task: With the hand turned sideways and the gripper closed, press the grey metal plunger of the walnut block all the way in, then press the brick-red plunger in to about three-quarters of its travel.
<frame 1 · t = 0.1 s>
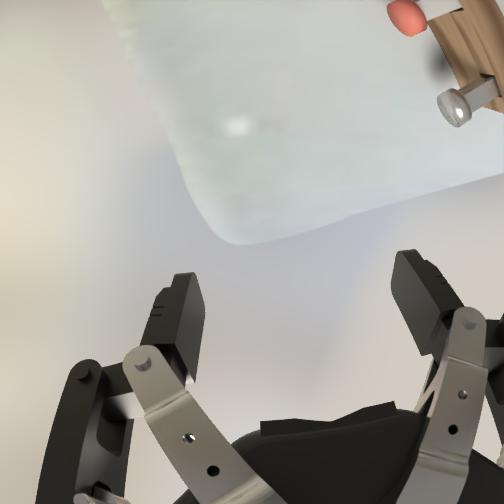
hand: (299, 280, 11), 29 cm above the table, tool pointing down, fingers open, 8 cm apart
red plunger: (434, 5, 18), point 8 cm above the table, slide at 0.0 cm
grey plunger: (478, 92, 24), point 8 cm above the table, slide at 0.0 cm
walnut housing: (439, 43, 27), on the table
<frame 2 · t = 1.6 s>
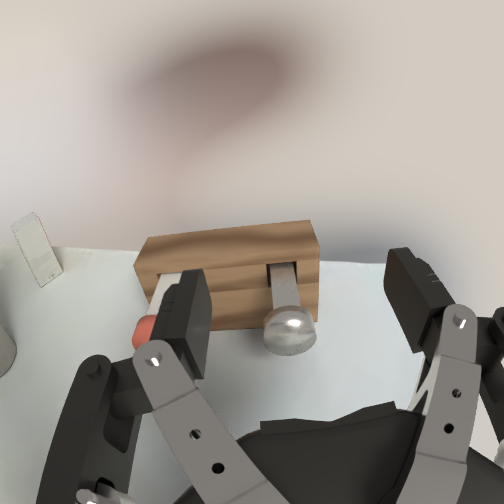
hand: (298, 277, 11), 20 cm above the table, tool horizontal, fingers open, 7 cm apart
red plunger: (167, 302, 30), point 8 cm above the table, slide at 0.0 cm
grey plunger: (284, 293, 29), point 8 cm above the table, slide at 0.0 cm
small box: (48, 274, 53), on the table
walnut housing: (237, 329, 36), on the table
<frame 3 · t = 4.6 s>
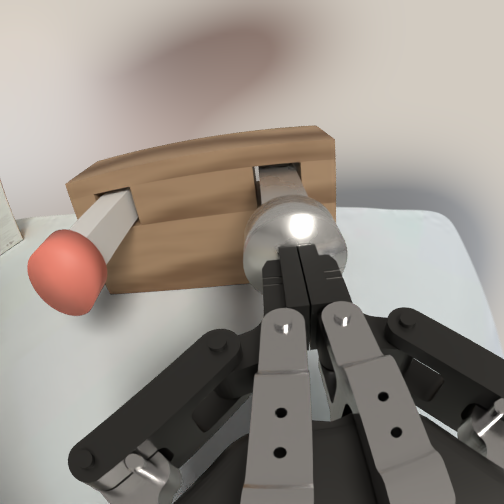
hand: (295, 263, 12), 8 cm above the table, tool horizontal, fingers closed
red plunger: (100, 229, 18), point 8 cm above the table, slide at 0.0 cm
grey plunger: (282, 203, 17), point 8 cm above the table, slide at 0.1 cm, touching gripper
small box: (9, 244, 41), on the table
walnut housing: (213, 286, 24), on the table
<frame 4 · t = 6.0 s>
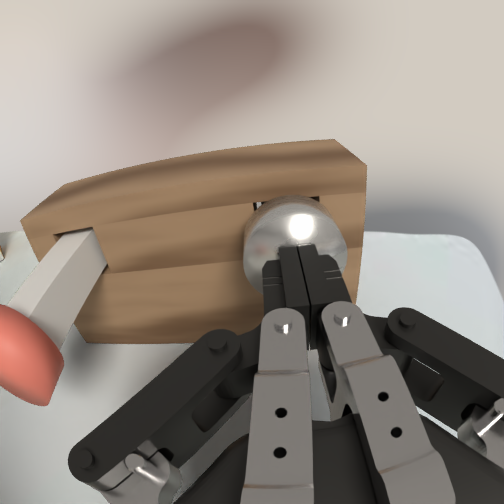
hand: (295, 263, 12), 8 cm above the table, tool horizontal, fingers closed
red plunger: (58, 285, 13), point 8 cm above the table, slide at 0.0 cm
grey plunger: (282, 203, 17), point 8 cm above the table, slide at 6.1 cm, touching gripper
walnut housing: (205, 342, 19), on the table
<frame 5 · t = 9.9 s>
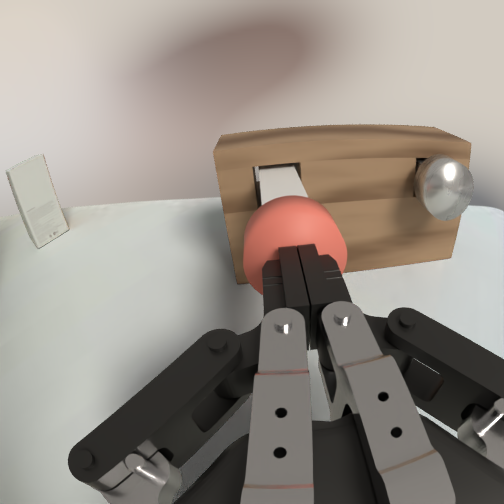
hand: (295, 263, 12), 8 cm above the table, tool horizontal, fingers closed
red plunger: (282, 204, 17), point 8 cm above the table, slide at 0.0 cm, touching gripper
grey plunger: (413, 165, 22), point 8 cm above the table, slide at 6.1 cm
small box: (49, 235, 40), on the table
walnut housing: (356, 271, 24), on the table
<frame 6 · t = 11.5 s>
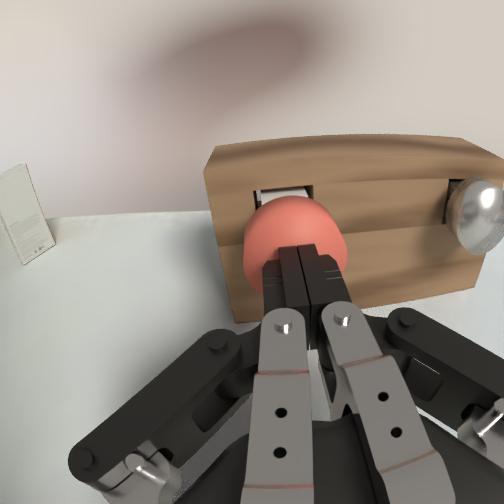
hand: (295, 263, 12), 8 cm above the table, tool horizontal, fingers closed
red plunger: (282, 204, 17), point 8 cm above the table, slide at 4.4 cm, touching gripper
grey plunger: (440, 184, 18), point 8 cm above the table, slide at 6.1 cm
small box: (35, 249, 37), on the table
walnut housing: (372, 307, 20), on the table
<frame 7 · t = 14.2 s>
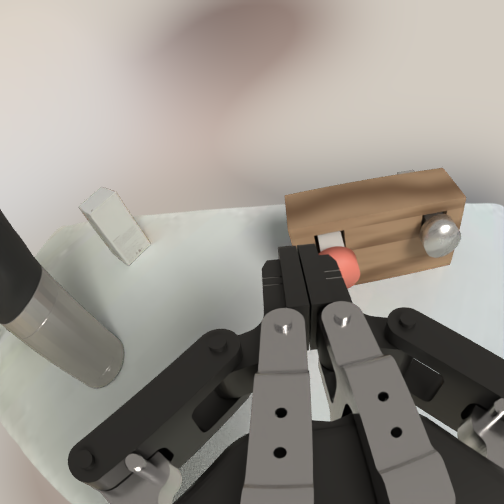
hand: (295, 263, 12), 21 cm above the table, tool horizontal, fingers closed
red plunger: (328, 234, 31), point 8 cm above the table, slide at 4.4 cm
grey plunger: (423, 206, 30), point 8 cm above the table, slide at 6.1 cm
small box: (131, 249, 56), on the table
walnut housing: (382, 279, 35), on the table
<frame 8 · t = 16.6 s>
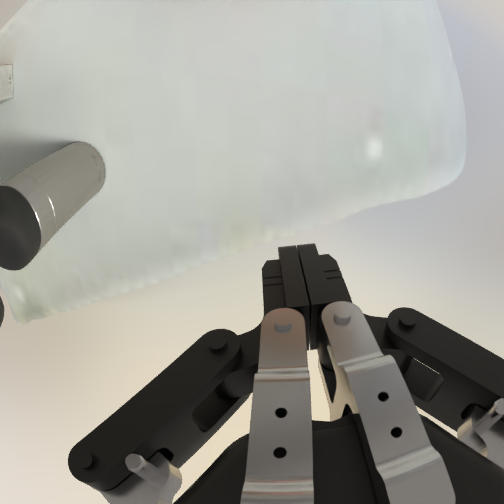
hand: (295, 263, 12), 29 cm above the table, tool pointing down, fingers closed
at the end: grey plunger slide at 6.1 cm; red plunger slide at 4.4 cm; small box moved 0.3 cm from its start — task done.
